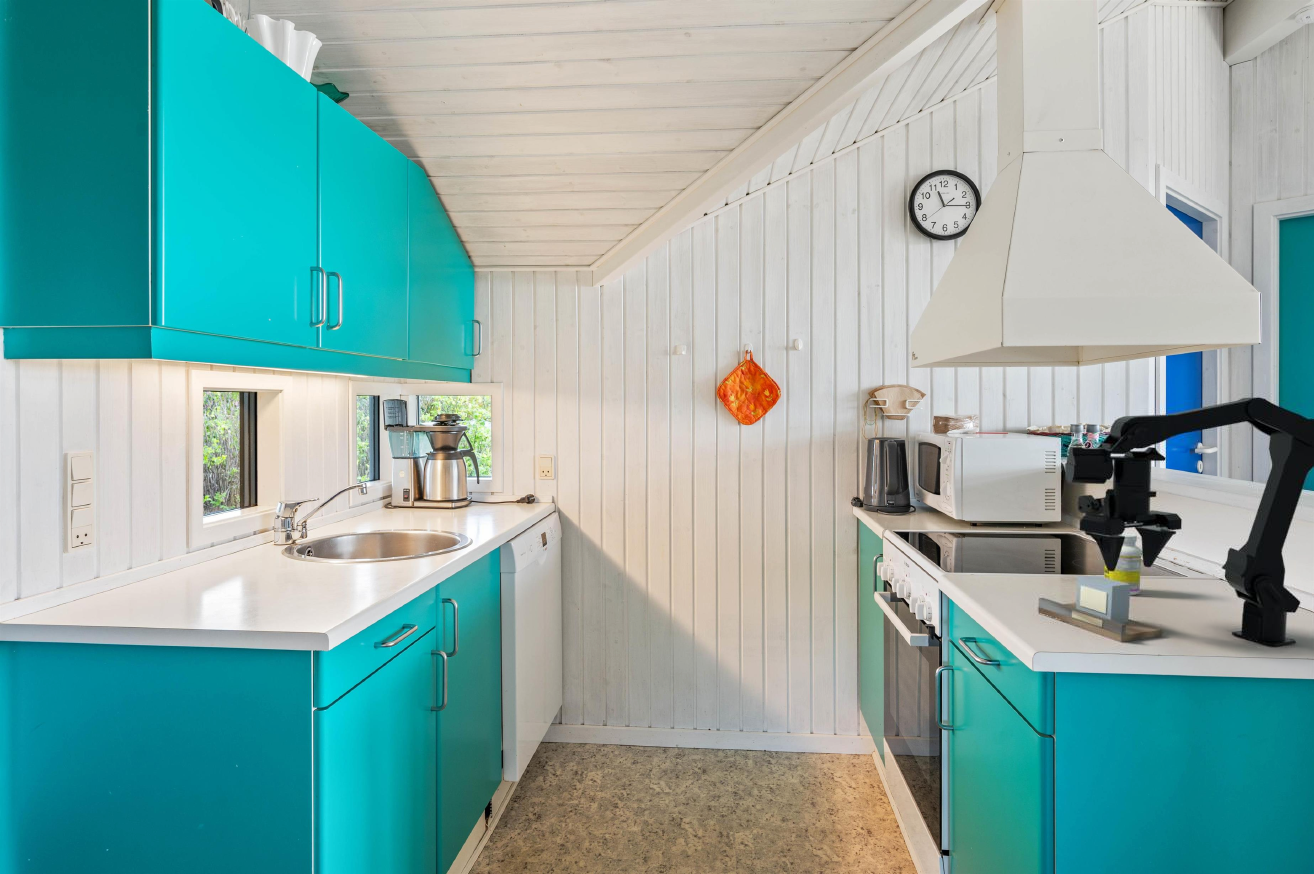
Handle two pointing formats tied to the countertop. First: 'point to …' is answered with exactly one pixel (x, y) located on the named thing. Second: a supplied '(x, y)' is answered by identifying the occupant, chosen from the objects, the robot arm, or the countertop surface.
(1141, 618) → the countertop surface
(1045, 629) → the countertop surface
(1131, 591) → the supplement bottle
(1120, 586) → the carton
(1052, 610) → the shelf board
